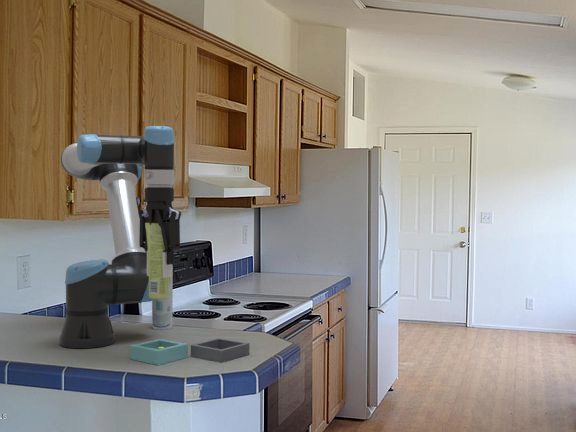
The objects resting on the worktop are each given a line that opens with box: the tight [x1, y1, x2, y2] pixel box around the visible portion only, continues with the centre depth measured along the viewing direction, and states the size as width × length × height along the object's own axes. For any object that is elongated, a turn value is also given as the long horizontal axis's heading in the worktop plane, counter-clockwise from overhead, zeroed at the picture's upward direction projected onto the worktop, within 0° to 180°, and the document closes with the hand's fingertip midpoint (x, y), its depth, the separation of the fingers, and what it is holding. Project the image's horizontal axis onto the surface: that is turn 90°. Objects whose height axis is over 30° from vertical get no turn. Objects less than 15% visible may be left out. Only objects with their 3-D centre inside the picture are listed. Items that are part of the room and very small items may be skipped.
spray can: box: [151, 264, 174, 331], centre depth 226 cm, size 6×6×20 cm
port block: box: [129, 338, 189, 366], centre depth 187 cm, size 10×10×4 cm
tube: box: [145, 223, 170, 299], centre depth 186 cm, size 6×5×20 cm
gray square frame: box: [190, 337, 250, 363], centre depth 190 cm, size 11×11×3 cm
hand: (159, 275), depth 186 cm, fingers closed on tube, 5 cm apart
